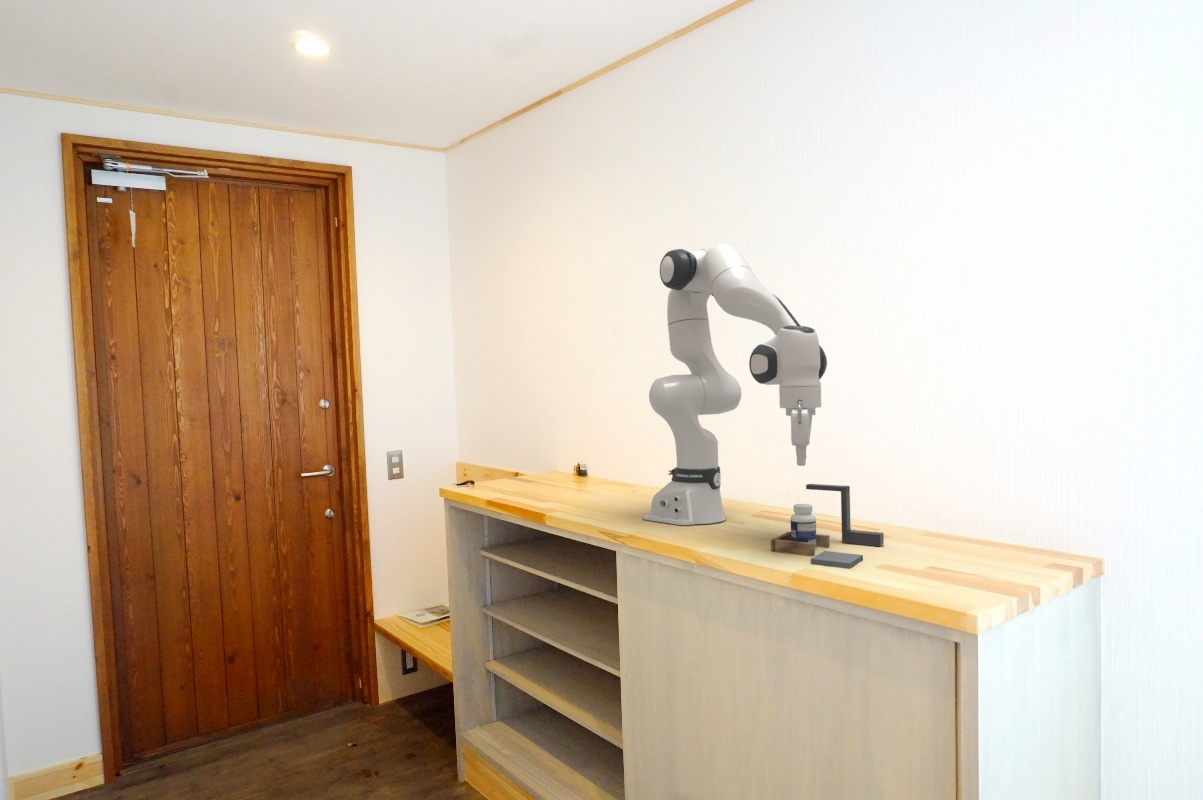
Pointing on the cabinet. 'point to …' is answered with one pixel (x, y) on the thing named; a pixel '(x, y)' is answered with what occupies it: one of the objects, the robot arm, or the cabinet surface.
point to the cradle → (798, 544)
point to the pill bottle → (803, 524)
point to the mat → (837, 559)
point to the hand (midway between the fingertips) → (801, 462)
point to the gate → (847, 533)
